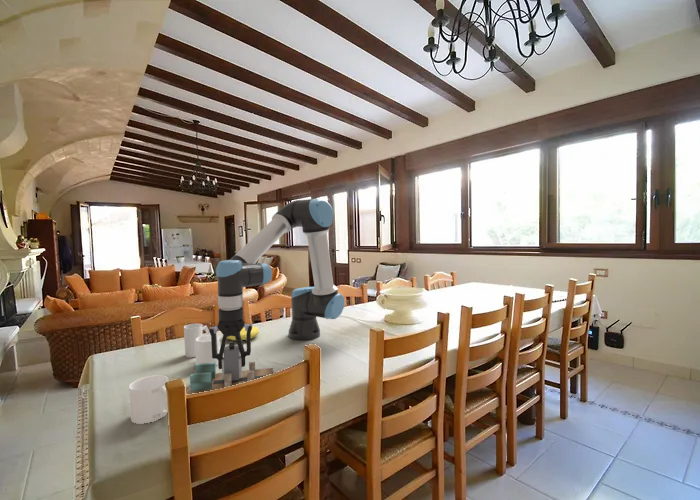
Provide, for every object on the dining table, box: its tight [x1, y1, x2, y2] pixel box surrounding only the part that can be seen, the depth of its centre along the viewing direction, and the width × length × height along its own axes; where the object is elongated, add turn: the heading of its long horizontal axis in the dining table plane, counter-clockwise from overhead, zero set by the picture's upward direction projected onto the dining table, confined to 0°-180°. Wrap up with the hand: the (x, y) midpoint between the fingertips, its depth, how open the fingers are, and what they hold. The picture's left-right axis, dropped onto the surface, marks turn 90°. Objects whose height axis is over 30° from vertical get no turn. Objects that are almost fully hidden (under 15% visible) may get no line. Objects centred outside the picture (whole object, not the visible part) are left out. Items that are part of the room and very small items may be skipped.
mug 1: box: [128, 374, 169, 425], centre depth 89 cm, size 12×9×9 cm
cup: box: [195, 334, 221, 367], centre depth 125 cm, size 8×12×10 cm
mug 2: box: [183, 323, 210, 359], centre depth 134 cm, size 10×7×12 cm, turn 139°
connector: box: [223, 341, 241, 381], centre depth 108 cm, size 4×4×12 cm
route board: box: [185, 361, 274, 394], centre depth 108 cm, size 26×14×6 cm, turn 104°
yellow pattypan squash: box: [227, 325, 260, 342], centre depth 153 cm, size 16×16×7 cm
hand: (232, 376), depth 108 cm, fingers closed on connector, 4 cm apart
